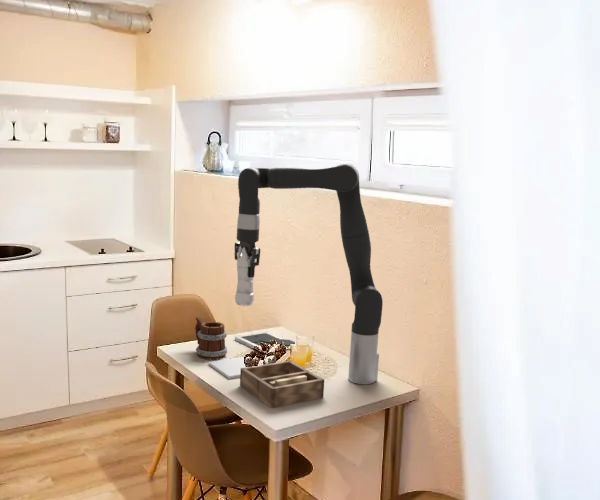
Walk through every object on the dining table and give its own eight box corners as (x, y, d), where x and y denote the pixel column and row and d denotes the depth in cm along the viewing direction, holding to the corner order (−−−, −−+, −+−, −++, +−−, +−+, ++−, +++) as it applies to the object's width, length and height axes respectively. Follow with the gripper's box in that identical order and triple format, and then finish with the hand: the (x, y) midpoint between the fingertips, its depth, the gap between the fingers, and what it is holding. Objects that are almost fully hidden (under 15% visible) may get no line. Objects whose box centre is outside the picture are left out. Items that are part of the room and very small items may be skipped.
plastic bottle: (242, 308, 219) (245, 250, 216) (230, 304, 224) (233, 247, 221) (257, 306, 223) (260, 249, 220) (245, 302, 228) (248, 246, 225)
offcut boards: (304, 391, 211) (305, 372, 210) (312, 397, 207) (314, 377, 206) (267, 398, 203) (268, 379, 202) (275, 404, 199) (276, 384, 198)
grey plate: (248, 358, 240) (248, 356, 240) (270, 372, 227) (270, 369, 227) (208, 364, 231) (208, 362, 231) (229, 379, 218) (229, 376, 218)
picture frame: (296, 349, 256) (266, 336, 273) (296, 342, 256) (266, 329, 272) (264, 355, 247) (234, 341, 263) (264, 348, 246) (235, 334, 262)
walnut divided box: (289, 377, 223) (290, 360, 222) (323, 397, 206) (324, 379, 205) (239, 385, 213) (240, 368, 212) (271, 408, 196) (272, 389, 195)
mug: (211, 362, 233) (208, 321, 233) (186, 359, 243) (183, 319, 242) (235, 355, 242) (231, 315, 242) (210, 352, 252) (207, 314, 251)
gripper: (268, 229, 216) (265, 278, 218) (247, 224, 227) (245, 270, 230) (249, 230, 211) (246, 280, 214) (228, 224, 223) (226, 271, 226)
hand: (245, 275), depth 222 cm, fingers closed on plastic bottle, 6 cm apart
